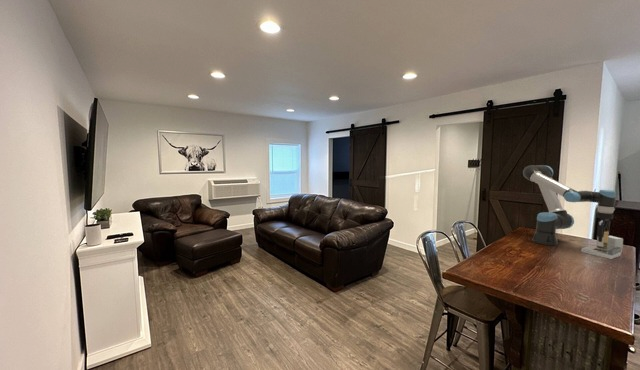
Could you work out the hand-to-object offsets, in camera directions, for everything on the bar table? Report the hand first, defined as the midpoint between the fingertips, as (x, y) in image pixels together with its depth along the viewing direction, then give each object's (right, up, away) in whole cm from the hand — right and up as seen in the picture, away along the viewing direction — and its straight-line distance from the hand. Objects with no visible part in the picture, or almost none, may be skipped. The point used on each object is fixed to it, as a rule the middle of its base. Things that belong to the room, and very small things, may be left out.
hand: (601, 245), depth 180 cm
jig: (0, -6, +1) cm, 6 cm away
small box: (+13, -6, +6) cm, 15 cm away
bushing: (0, -2, 0) cm, 2 cm away
